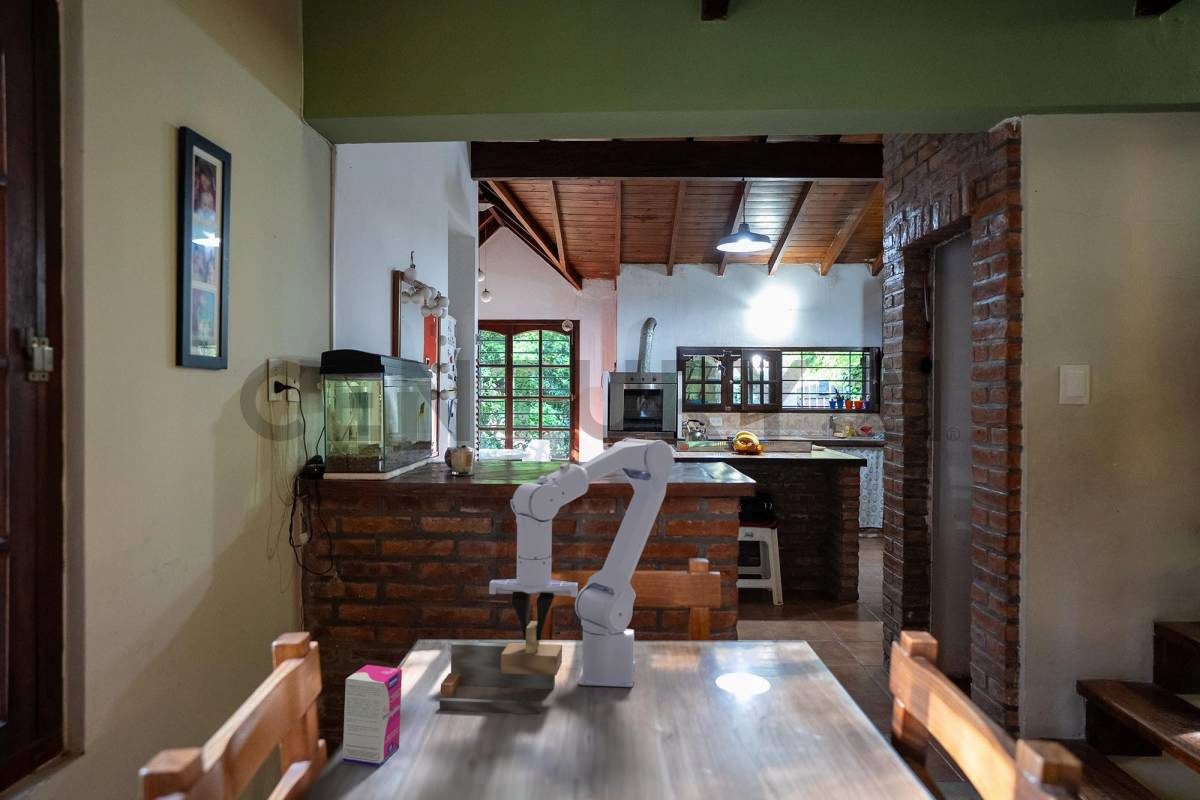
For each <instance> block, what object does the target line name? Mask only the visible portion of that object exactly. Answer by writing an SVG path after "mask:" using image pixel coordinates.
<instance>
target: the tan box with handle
mask: <svg viewBox="0 0 1200 800" xmlns="http://www.w3.org/2000/svg"><path fill="white" fill-rule="evenodd" d="M536 632H537V620H530V623H529V625H528V626H527V627H526V640H525V642H509V643H507V644H508V646H507V647H506V648H505V650H504V651H503V652H502V654H501V673H511V674H535V675H555V676H557V675H558V673H559V671H560V668H561V666H562V663H563V661H562V660H563V645H562V644H553V643H552V644H550V643H548V644H547V643H540V640H537V639H536Z"/></svg>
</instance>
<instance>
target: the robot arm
mask: <svg viewBox="0 0 1200 800" xmlns="http://www.w3.org/2000/svg"><path fill="white" fill-rule="evenodd" d="M675 461H676V460H675V458H674V456H673V452H672V449H671V447H670V445H669V443H667V442H666V441H665V440H662V439H657V440H653V439H640V438H639V439H638V438H634V437H625V438H623V439H622V440H620V441H616V442H615V443H614V444H613V446H611V447H609V448H607V449H606V450H605V451H603V452H601V453H599V454H597V456H596V455H595V457H593V458H591V459H590V460H588V461H587V462H585V463H583V464H581V465H578V464H575V463H566V462H564V463H561V464H559V466H558V467H559V469H558V470H555V471H554V472H551V473H550V474H547V475H541V476H538V478H537V481H535V483H534V482H525V483H522V484H520V485H519V486H518V487H517V488H516V490H514V494H513V496H512V498H511V499H510V507H511V509H512V511H513V513H514V515H515V517H516V518H515V522H516V524H517V525H516V526H517V527H516V531H517V532H516V578H511V579H510V578H509V579H492V580H490V581H489V583H488V585H489V588H488V589H489V595H497V594H504V595H505V594H507V595H509V594H510V595H512V596H511V597H512V598H511V599H510V600H511V605H512V606H513V608H514V611H515V613H516V615H517V617H518V620H519V624H520V627H521V630H522V635H523V636H522V638H523V640H525V641H526V627H527V626H528V625H529V623H530V622H531V620H530V609H531V607H530V606H531V596H532V595H535V596H536V595H538V597H537V598H536V621H537V632H536V639H537V640H539V641H542V638H543V635H544V634H543V633H544V628H545V623H546V619H547V617H548V614H549V611H550V608H551V606H552V603H553V601H554V599H555V597H556V596H562V597H563V596H564V597H567V596H568V597H571V598H575V602H574V610H575V614H576V615H577V617H578V619H580V625H581V626H582V667H581V669H580V674H579V678H578V681H577V683H578V685H580V686H596V687H619V688H620V687H621V688H623V687H624V688H632V687H633V684H634V673H636V661H635V660H634V659H635V630H634V629H631V628H627V627H628V626H629V624H630V623H631V620H632V617H633V608H634V602H635V599H636V597H637V595H636V592H635V590H634V587H632V584H631V581H632V580H631V579H632V578H633V575H634V573H635V570H636V567H637V565H638V563H639V561H640V558H641V556H642V552H643V551H644V549H645V545H646V543H647V541H648V538H649V536H650V533H651V531H652V529H653V526H654V523H655V521H656V518H657V515H658V513H659V511H660V508H661V507H662V504H663V501H664V499H665V497H666V492H667V485H668V480H669V477H670V474H671V473H672V471H673V468H674V466H675V463H676V462H675ZM619 470H621V472H622V473H623V475H624V477H625V478H626V480H627V481H628V482H629V483H630V485H631V486H632V489H633V492H634V493H633V495H632V497H631V501H630V503H629V505H628V507H627V509H626V512H625V514H624V517H623V519H622V522H621V524H620V526H619V529H618V531H617V534H616V535H615V537H614V541H613V543H612V545H611V548H610V550H609V552H608V554H607V557H606V559H605V562H604V565H603V566H602V569H601V570H599V571H597V572H595V573H594V574H593V575H591V576H589V577H588V579H587V582H586V584H585V585H584V586H583V588H581V590H579V591H578V589H579V583H578V582H576V581H575V582H571V581H564V580H556V579H555V580H554V579H552V549H553V547H552V543H553V542H552V539H553V537H552V535H553V532H552V531H553V529H552V528H553V519H554V518H555V517H556V515H558V512H559V510H560V508H562V507H563V506H565V505H567V504H568V503H570V502H572V501H574V500H576V499H577V498H579V497H581V496H583V495H585V494H586V493H587V492H588V490H589V485H590V483H593V482H595V481H597V480H599V479H602V478H604V477H605V476H608V475H610V474H612V473H614V472H616V471H619Z"/></svg>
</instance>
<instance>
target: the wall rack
mask: <svg viewBox="0 0 1200 800" xmlns="http://www.w3.org/2000/svg"><path fill="white" fill-rule="evenodd" d="M508 644H509V643H502V642H501V643H500V642H475V641H473V642H471V641H452V643H451V644H450V647H451V648H450V673H448V674H447V675H446V677H445V678H444V679H443V680H442V682H441V683H440V699H439V710H440V711H441V710H442V711H458V710H459V711H460V712H465V711H467V712H481V713H482V712H483V713H484V712H485V713H506V714H507V713H508V714H525V715H526V714H528V715H539V714H540V712H541V702H540V701H527V700H526V701H522V700H504V699H499V700H498V699H482V698H481V699H477V698H476V699H475V698H460V697H459V698H455V697H454V695H455V694H456V693H457V691H458V689H459V688H460V687H461V686H468V685H478V686H477V687H496V688H497V687H498V688H515V687H516V689H519V688H521V689H540V690H541V689H545V690H555V685H556V675H535V674H511V673H501V654H502V652H503V651H504V650H505V648H506V647H507V646H508ZM479 685H480V686H479ZM458 687H459V688H458ZM459 711H458V712H459Z"/></svg>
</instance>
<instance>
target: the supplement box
mask: <svg viewBox="0 0 1200 800" xmlns="http://www.w3.org/2000/svg"><path fill="white" fill-rule="evenodd" d="M402 674H403V669H402V668H398V667H388V666H380V665H372V664H366V665H365V666H363V667H362V668H360V669H358V670H357V671H355V672H354V673H352V674H350V675H349V676H348V677H347V678H345V689H344V690H345V692H344V714H343V715H344V716H343V717H344V718H343V720H344V721H343V738H342V739H343V740H342V741H343V742H342V744H343V745H342V760H341V761H342V763H344V764H352V765H358V766H361V765H362V766H367V767H373V768H374V767H375V768H376V767H377V768H378V767H379V768H380V767H381V766H382V765H383V763H385V762H386V760H388V758H390V756H392V755H393V754H394V752H396V751H397V750H399V748H400V734H401V731H400V729H401V707H402V706H401V705H402V704H401V703H402V678H403V675H402Z"/></svg>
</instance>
